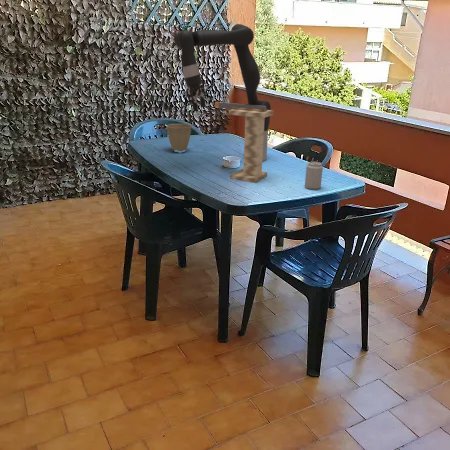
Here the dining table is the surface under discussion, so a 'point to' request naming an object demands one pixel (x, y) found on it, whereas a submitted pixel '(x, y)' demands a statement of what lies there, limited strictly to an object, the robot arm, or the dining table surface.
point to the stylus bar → (230, 105)
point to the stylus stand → (252, 144)
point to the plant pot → (179, 136)
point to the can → (313, 175)
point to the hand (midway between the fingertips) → (200, 108)
